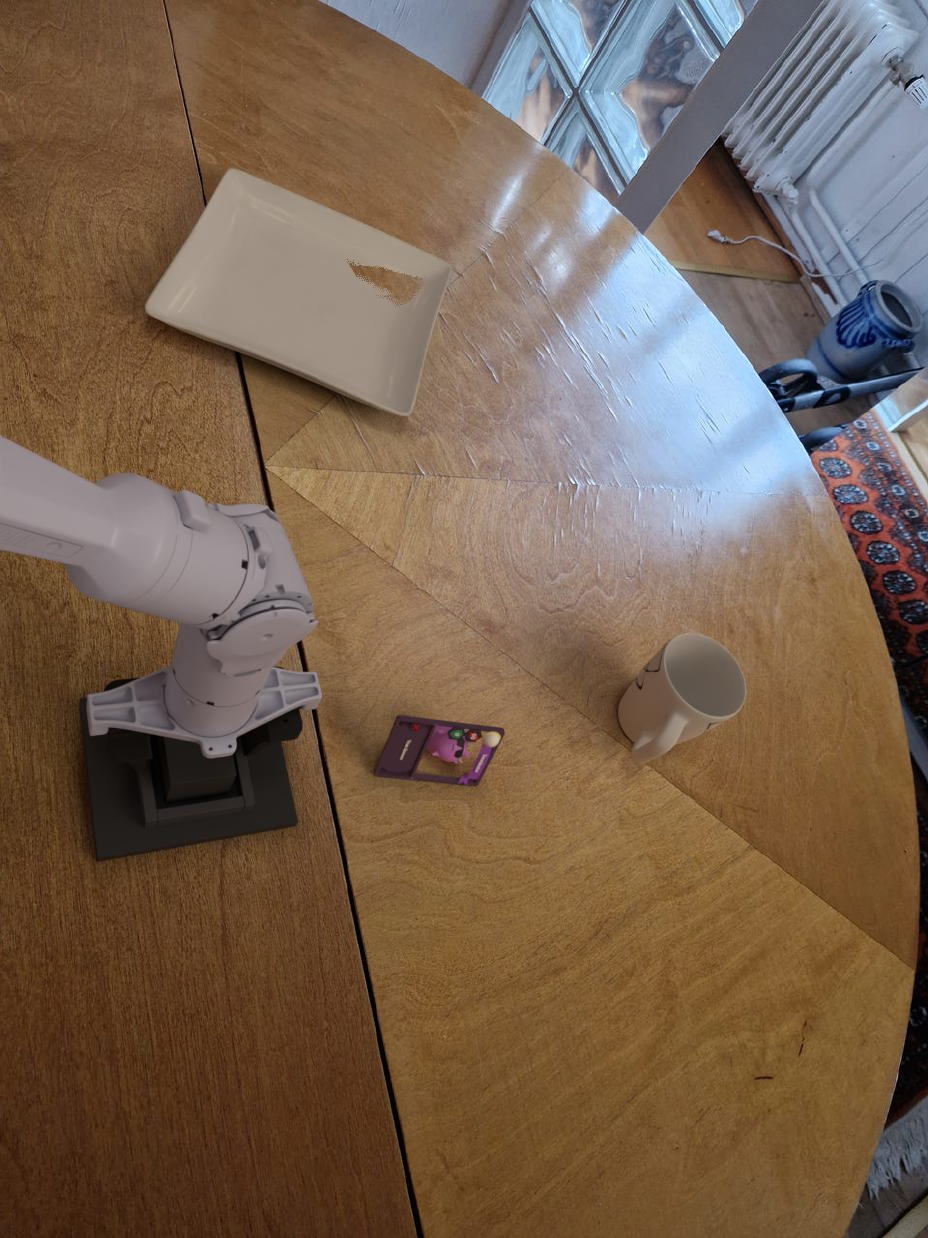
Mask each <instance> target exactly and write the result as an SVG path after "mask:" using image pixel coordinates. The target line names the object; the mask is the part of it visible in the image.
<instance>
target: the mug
mask: <svg viewBox="0 0 928 1238" xmlns="http://www.w3.org/2000/svg"><path fill="white" fill-rule="evenodd" d="M746 697H747V683H746V678H745V675H744V672H743V670H742V668H741V666H740V664H739V662H738V661H737V659H736V657H735V656H734V655H733V654H732V653H731V652H730V651H729V650H728V648H727V647H726V646H724V645H723V644H721V643H720V642H719V641H718V640H716V639H714V638H712V637H710V636H708V635H706V634H703V633H699V632H690V631H689V632H683V633H679V634H677V635H675V636H673V637H672V638H670V639H669V640H668V641H667V642H666V643H665V644H664V645H663V646H662V647H660V649H659V650H658V651H657V652H656V653H655V654H654V655H653V656H652V658H650V660H649V661H648V662H646V664H645V665H644V666H643V667H642V668H641V670H640V671H639V672H638V674H637V675H636V676H635V678H634V679H633V681H632V682H631V684H630V685H629V687H628V688H627V690H626V691H625V692H624V694H623V695H622V697H621V698H620V701H619V703H618V708H617V716H618V722H619V725H620V727H621V729H622V731H623V733H624V734H625V736H626V737H627V738H628V739H629V741H631V742H632V743H633V745H632V748H631V750H630V754H629V756H630V758H631V760H632V761H634V762H635V763H637V764H638V765H644V764H647V763H648V762H651V761H653V760H655V759H658V758H660V757H661V756H664V755H665V754H666V753H668V752H669V751H670V750H672V749H673V747H674V746H676V745H679V744H682V743H684V742H687V741H690V740H692V739H694V738H696V737H699V736H701V735H703V734H705V733H706V732H709V731H711V730H712V729H714V728H716V727H717V726H720V725H721V724H723V723H725V722H726V721H728V720H730V719H731V718H733V717H734V716H736V715H738V713H739V712H740V711H741V710H742V708H743V705H744V704H745V701H746Z"/></svg>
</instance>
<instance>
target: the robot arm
mask: <svg viewBox="0 0 928 1238" xmlns="http://www.w3.org/2000/svg"><path fill="white" fill-rule="evenodd" d="M0 551H2V552H8V553H12V554H18V555H22V556H27V557H32V558H37V559H42V560H46V561H50V562H51V561H52V562H56V563H62V564H63V566H64V571H65V572H66V575H67V576H68V579H69V580H70V582H71V584H72V585H73V586H74V587H75V589H76V590H77V591H78V592H79V593H81V594H82V595H83V596H85V597H87V598H89V599H91V600H95V601H97V602H102V603H106V604H109V605H112V606H117V607H120V608H123V609H127V610H131V611H135V612H137V613H138V612H139V613H142V614H146V615H149V616H154V617H156V618H161V619H163V620H168V621H170V622H171V621H172V622H175V623H179V625H178V629H177V633H176V637H175V642H174V647H173V651H172V654H171V655H172V656H171V659H170V664H169V665H168V666H165V667H162V668H160V669H158V670H156V671H153V672H150V673H149V674H146V675H144V676H141V677H132V678H122V679H119V678H118V679H114V680H111V681H110V682H109V683H107V684H106V685H105V687H104V688H103V691H101V692H94V693H88V694H87V695H86V698H87V717H88V726H89V734H90V736H94V735H102V734H106V733H107V732H108V739H109V747H110V752H111V755H112V757H113V759H114V761H115V762H116V763H126V762H128V763H130V764H131V765H132V767H133V770H134V771H135V772H137V771H144V770H145V769H146V761H147V760H149V759H153V757H152V750H151V743H150V736H149V734H154V735H159V736H164V737H170V738H175V739H180V740H186V741H191V742H196V743H198V744H199V745H200V746H201V751H202V754H203V756H205V757H206V758H217V757H225V756H230V755H232V754H233V753H234V752H235V750H236V747H237V743H236V738H237V737H238V736H240V737H241V743H242V748H243V753H244V756H251V755H254V754H256V753H258V752H259V751H261V750H262V749H264V748H266V747H267V746H269V745H271V744H273V743H275V742H281V743H283V742H288V741H295V740H297V739H298V738H299V737H300V735H301V733H302V732H303V729H304V728H303V727H304V725H303V718H302V714H301V710H303V711H309V710H311V711H312V710H316V709H317V708H318V706H319V704H320V702H321V701H322V698H323V693H322V689H321V684H320V679H319V677H318V673H317V671H297V670H291V669H290V670H289V669H286V668H284V667H282V666H275V665H277V663H279V662H282V659H283V658H284V656H285V654H286V652H287V651H288V650H289V649H290V648H291V647H293V646H294V645H296V644H298V643H299V642H300V641H302V640H304V639H305V638H306V637H307V636H309V635H310V634H311V633H312V632H313V631H314V630H315V628H317V626H318V624H319V622H320V621H319V620H317V619H315V615H314V613H313V612H314V609H315V603H314V600H313V596H312V595H311V592H310V589H309V587H308V585H307V582H306V580H305V579H306V578H305V577H304V574H303V571H302V569H301V567H300V564H299V561H298V558H297V556H296V554H295V551H294V548H293V546H292V543H291V541H290V538H289V536H288V534H287V531H286V529H285V527H284V526H283V524H282V523H281V519H280V517H279V515H278V514H277V513H276V512H274V511H273V510H271V509H270V507H269V506H268V505H266V504H261V503H239V504H232V505H231V504H230V505H229V504H228V505H225V504H221V503H219V502H214V503H210V502H206V503H205V500H204V498H203V497H202V496H201V495H199V494H197V493H195V492H192V491H191V490H188V489H186V488H185V489H184V488H183V489H181V490H180V491H179V492H177V491H175V490H173V489H171V488H169V487H167V486H165V485H163V484H160V483H158V482H156V481H154V480H152V479H149V478H147V477H145V476H143V475H141V474H137V473H134V472H117V473H113V474H109V475H107V476H105V477H102V478H101V479H99V480H98V481H96V482H92V481H89V480H88V479H86V478H84V477H83V476H80V475H78V474H76V473H74V472H73V471H70V470H68V469H67V468H64V467H63V466H61V465H59V464H57V463H55V462H53V461H51V460H49V459H47V458H45V457H43V456H42V455H40V454H37V453H35V452H34V451H31V450H30V449H28V448H26V447H24V446H22V445H20V444H19V443H16V442H15V441H13V440H10V439H9V438H7V437H5V436H3V435H1V434H0Z"/></svg>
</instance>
